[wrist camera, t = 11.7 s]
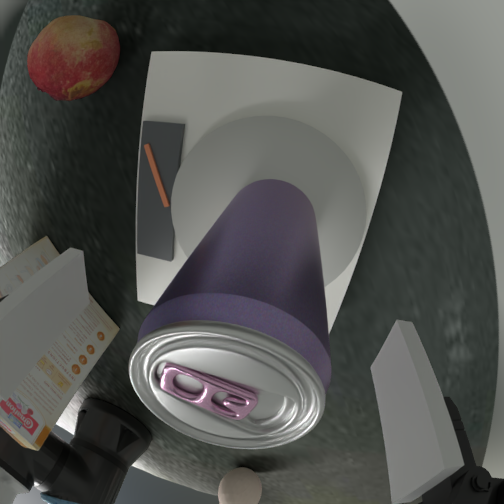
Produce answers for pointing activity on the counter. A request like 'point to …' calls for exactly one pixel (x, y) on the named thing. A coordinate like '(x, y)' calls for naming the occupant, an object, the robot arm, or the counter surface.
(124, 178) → the counter surface
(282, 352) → the beverage can
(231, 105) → the scale
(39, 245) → the coffeecake box
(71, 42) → the fruit
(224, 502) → the egg
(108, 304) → the counter surface
